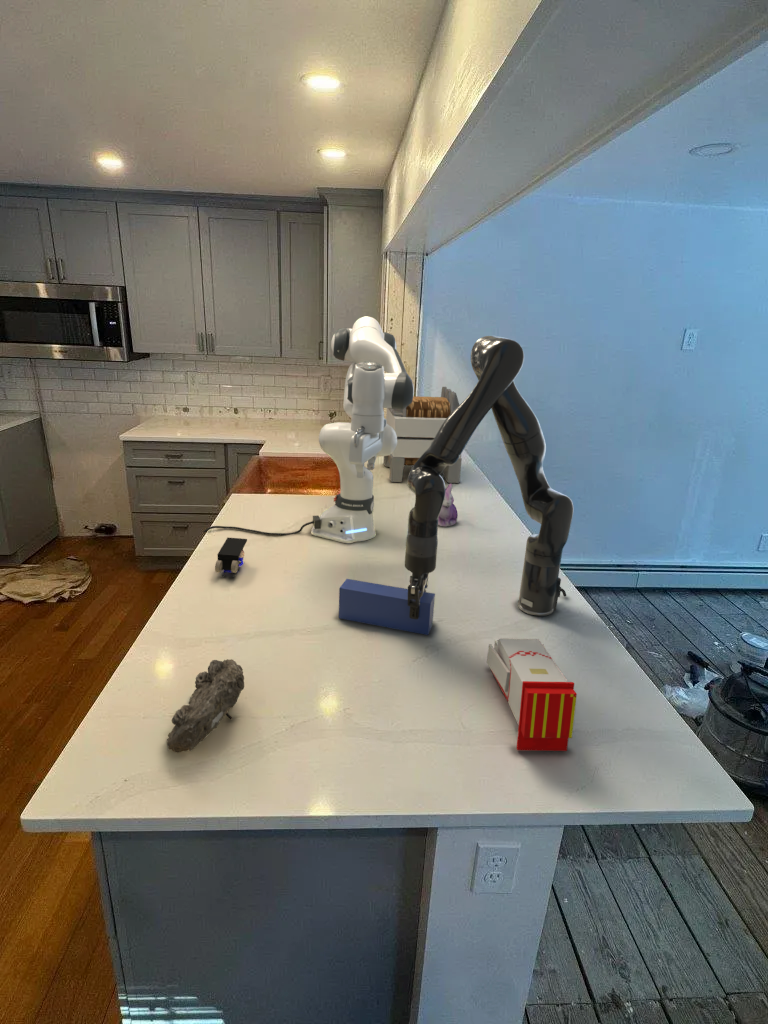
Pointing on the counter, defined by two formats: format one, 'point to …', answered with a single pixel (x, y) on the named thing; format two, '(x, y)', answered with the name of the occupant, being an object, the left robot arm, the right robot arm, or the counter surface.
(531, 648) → the toy
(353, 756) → the counter surface
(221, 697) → the fossil
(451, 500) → the figurine
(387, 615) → the block
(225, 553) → the figurine character
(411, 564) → the right robot arm
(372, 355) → the left robot arm
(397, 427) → the transformer
